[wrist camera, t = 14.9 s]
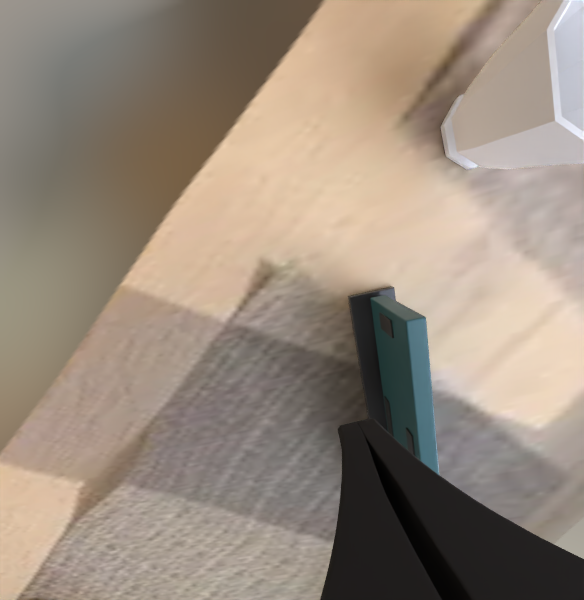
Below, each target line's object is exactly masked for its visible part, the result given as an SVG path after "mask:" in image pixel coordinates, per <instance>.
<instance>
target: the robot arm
mask: <svg viewBox="0 0 584 600" xmlns="http://www.w3.org/2000/svg"><path fill="white" fill-rule="evenodd" d="M338 433H339V438H340V443H341V448H342V482H341V496H340V506H339V514H338V521H337V527H336V533H335V539H334V544H333V549H332V554H331V559H330V564H329V568H328V572H327V576H326V580H325V584H324V588H323V592H322V596H321V599H320V600H584V559H582V558H580V557H578V556H576V555H574V554H572V553H570V552H568V551H566V550H564V549H562V548H560V547H558V546H556V545H554V544H552V543H550V542H548V541H546V540H544V539H542V538H540V537H538V536H536V535H534V534H533V533H531V532H529V531H527V530H525V529H524V528H522V527H520V526H518V525H517V524H515V523H513V522H511V521H509V520H508V519H506V518H504V517H502V516H500V515H499V514H497V513H495V512H494V511H492V510H490V509H489V508H487V507H486V506H484V505H482V504H481V503H479V502H477V501H476V500H474V499H473V498H471V497H470V496H468V495H467V494H465V493H464V492H462V491H461V490H459V489H458V488H456V487H455V486H454V485H452V484H451V483H449V482H448V481H447V480H445V479H444V478H442V477H441V476H440V475H438V474H437V473H436V472H434V471H433V470H432V469H430V468H429V467H428V466H427V465H425V464H424V463H423V462H422V461H420V460H419V459H418V458H417V457H416V456H414V455H413V454H412V453H411V452H410V451H408V450H407V449H406V448H405V447H404V446H403V445H401V444H400V443H399V442H398V441H397V440H396V439H395V438H394V437H393V436H392V435H390V434H389V433H388V432H387V431H386V430H385V429H384V428H383V427H382V426H381V425H380V424H379V423H378V422H377V421H376V420H375V419H373V418H372V419H367V420H363V421H359V422H354V423H350V424H346V425H341V426H340V427H339V428H338Z"/></svg>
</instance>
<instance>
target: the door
mask: <svg viewBox="0 0 584 600" xmlns="http://www.w3.org/2000/svg"><path fill="white" fill-rule="evenodd" d="M371 307H372V314H373V322H374V330H375V337H376V345H377V352H378V360H379V368H380V375H381V383H382V390H383V398H384V406H385V413H386V421H387V428H388V433H389V434H390V435H392V436H393V437H394V438H395V439H396V440H397V441H398V442H399V443H400V444H401V445H403V446H404V447H405V448H406V449H407V450H408V451H410V452H411V453H412V454H413V455H414V456H416V457H417V458H418V459H419V460H420V461H422V462H423V463H424V464H425V465H427V466H428V467H429V468H430V469H432V470H433V471H434V472H436V473H437V474H438V475H439V467H438V455H437V444H436V432H435V420H434V408H433V397H432V385H431V373H430V361H429V350H428V338H427V326H426V318H425V317H424V316H422V315H421V314H419V313H417V312H415V311H413V310H411V309H410V308H408V307H406V306H404V305H402V304H400V303H399V302H397V301H395V300H393V299H391V298H389V297H388V296H386V295H382V296H377V297H373V298H371Z"/></svg>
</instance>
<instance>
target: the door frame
mask: <svg viewBox="0 0 584 600" xmlns="http://www.w3.org/2000/svg"><path fill="white" fill-rule="evenodd" d="M382 295H386V296H388V297H389V298H391V299H393V300H395V301H396V299H395V291H394V287H388V288H383V289H378V290H374V291H369V292H365V293H360V294H356V295H351V296H348V300H349V306H350V312H351V318H352V324H353V330H354V336H355V342H356V348H357V354H358V360H359V366H360V372H361V378H362V384H363V389H364V395H365V401H366V407H367V413H368V419H372V418H373V419H375V420H376V421H377V422H378V423H379V424H380V425H381V426H382V427H383V428H384V429H385V430H386V431H387V432H388V428H387V421H386V413H385V406H384V398H383V390H382V383H381V375H380V368H379V360H378V352H377V345H376V337H375V330H374V322H373V314H372V307H371V298H373V297H377V296H382Z"/></svg>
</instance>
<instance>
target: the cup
mask: <svg viewBox="0 0 584 600" xmlns="http://www.w3.org/2000/svg"><path fill="white" fill-rule="evenodd" d="M441 133H442V138H443V144H444V149H445V155H446V157H447V158H449V159H451V160H452V161H454V162H456V163H457V164H459V165H460V166H462V167H464V168H465V169H467V170H470V169H473V168H476V167H479V166H480V167H482V168H496V169H518V168H529V167H540V166H551V165H567V164H581V163H584V0H542V1H541V2H540V3H539V4H538V6H537V7H536V8H535V9H534V10H533V11H532V12H531V13H530V14H529V15H528V17H527V18H526V19H525V20H524V21H523V22H522V23H521V24H520V25H519V26H518V27H517V28H516V30H515V31H514V32H513V33H512V34H511V35H510V36H509V37H508V38H507V39H506V40H505V41H504V43H503V44H502V45H501V46H500V47H499V48H498V49H497V50H496V51H495V52H494V53H493V55H492V56H491V57H490V59H489V60H488V61H487V63H486V64H485V65H484V67H483V68H482V70H481V71H480V72H479V74H478V75H477V76H476V78H475V79H474V80H473V82H472V83H471V84H470V86H469V87H468V89H467V91H466V93H465V94H462V95H460V96H458V97H457V98H456V99H455V101H454V103H453V105H452V107H451V108H450V110H449V112H448V114H447V116H446V118H445V119H444V121H443V123H442V125H441Z"/></svg>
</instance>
